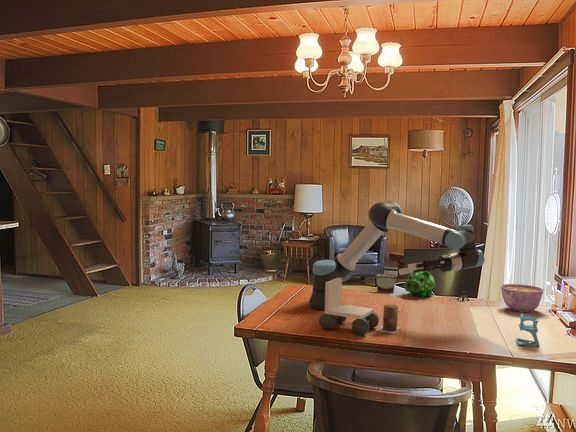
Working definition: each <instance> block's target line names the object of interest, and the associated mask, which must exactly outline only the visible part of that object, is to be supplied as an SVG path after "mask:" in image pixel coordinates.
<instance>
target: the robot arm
mask: <svg viewBox="0 0 576 432" xmlns="http://www.w3.org/2000/svg"><path fill="white" fill-rule="evenodd" d="M403 213H404V211H403V209H402V207H401V206H400V204H398V203H397V202H395V201H394V202H392V201H386V202H385V201H382V202H376V203H374V204H373V205H372V206H370V207H369V210H368V220H369V222H368V223H367V224H366V225H365V227H364V228H363V229H362V230H361V231H360V232H359V234H358V235H357V236H356V237H355V238H354V239H353V241H352V242H351V243H350V244H349V245H348V247H347V248H346V249H345V250H344V251H343V252H342V253H338V254H337V255H336V256H335V257H334V258H333V259H332V260H331V259H322V260H320V259H319V260H316V261H315V262H314V263H313V265H312V293H310V294H311V295H310V298H309V300H308V308H310V309H313V310H318V311H325V283H326V282H328V281H331V280H333V279H336V278H342V283H344V282H347V281H348V280H350V278H351V277H352V276H353V272H354V270H355V269H356V264H357V263H358V261H359V260H360V259H361V258H362V257H363V256H364V255H365V254H366V253H367V252H368V251H369V249H370V248H371V247H372V246H373V245H374V244H375V243H376V241H377V240H378V239H379V238H380V237H381V235H383V234H387V233H388V232H389V231H390V230H391V229H394V230H395V231H396V230H397V231H400V232H403V233H406V234H409V235H412V236H416V237H418V238H419V237H420V238H421V239H425V240H428V241H432V242H435V243H437V244H441V245H443V246H446V247H448V248H449V249H451V250H458V252H454V253H448V254H442V255H439V256H437V257H438V258H437V259H435V260H426V259H424V260H422V261H421V262H415V263H409V264H407V267H404V268H398V274H399V276H402V275H409V274H410V273H413V274H415V273H417V272H429V271H436V270H438V269H439V271H440V272H442V273H447V272H453V271H454V272H455V271H456V272H459V270H467V269H472V268H473V269H474V268H479V267H481V266H483V265H484V263H485V259H486V258H485V255H484V252H483V251H482V250H480V249H478V248H477V243H476V237H475V230H474V227H473V224H464V225H457V226H456V227H455V229H452V228H449V227H445V226H442V225H439V224H436V223H433V222H430V221H426V220H423V219H419V218H416V217H413V216H409V215H406V214H403Z"/></svg>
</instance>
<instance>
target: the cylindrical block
mask: <svg viewBox="0 0 576 432" xmlns="http://www.w3.org/2000/svg"><path fill="white" fill-rule="evenodd" d="M398 314H399V306H398V305H395V304H384V305H383V315H382V316H383V319H382V325H383V329H384V330H386V331H396V330H397V327H398V320H399V319H398V317H399V315H398Z"/></svg>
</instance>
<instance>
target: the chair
mask: <svg viewBox="0 0 576 432" xmlns="http://www.w3.org/2000/svg"><path fill="white" fill-rule="evenodd" d="M519 319H520V323H518V328H519V330H520V331H525V332H529V334H531V336H532V338H533V340H531V339H530V340H529V339H524V338H519V337H515V342H517V343H516V345H517V344H518V345H540V342H539V339H538V335H537V333H538V332H539V328H538V326H537V325H538V323H539V320H537V319H538V318H537V317H535V316H533V315H531V314H528V313H521V314H519ZM526 321H530V322H532V324H525V323H524V322H526ZM518 340H521V341H518ZM522 341H526V342H522ZM527 342H531V343H527Z"/></svg>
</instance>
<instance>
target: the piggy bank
mask: <svg viewBox="0 0 576 432" xmlns="http://www.w3.org/2000/svg"><path fill="white" fill-rule="evenodd" d="M435 281H436V280H435V279H434V276H433V275H432V274H431V273H430V272H429V271H422V272H417V273H415V274H413V273H410V274H408V279H407V281H405V283H404V290H405V291H406V292H408V293H409V294H410V296H413V297H415V296H417V295H418V296H419V297H420V298H426V297H427V296H428V297H429V296H431V294H432V293H433V289H434V288H435V285H436V282H435Z"/></svg>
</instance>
